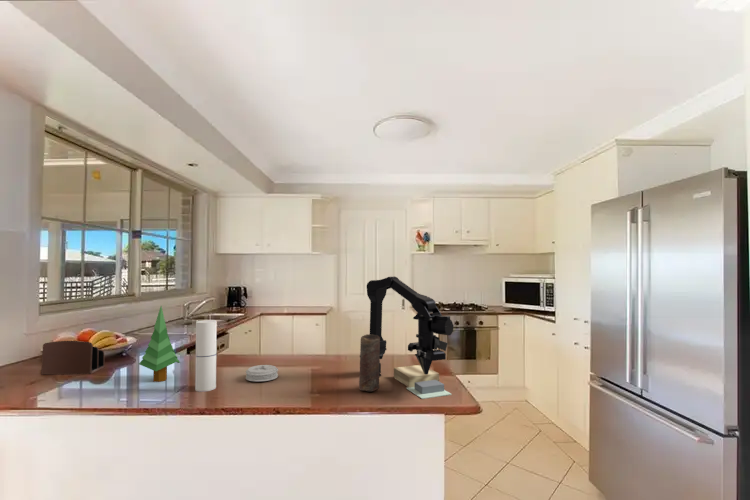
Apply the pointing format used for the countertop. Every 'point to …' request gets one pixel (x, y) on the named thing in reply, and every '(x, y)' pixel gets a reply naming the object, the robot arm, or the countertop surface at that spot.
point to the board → (413, 375)
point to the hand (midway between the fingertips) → (426, 374)
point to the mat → (429, 395)
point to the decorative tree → (159, 351)
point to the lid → (261, 373)
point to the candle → (369, 362)
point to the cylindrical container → (205, 355)
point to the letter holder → (71, 358)
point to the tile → (429, 386)
